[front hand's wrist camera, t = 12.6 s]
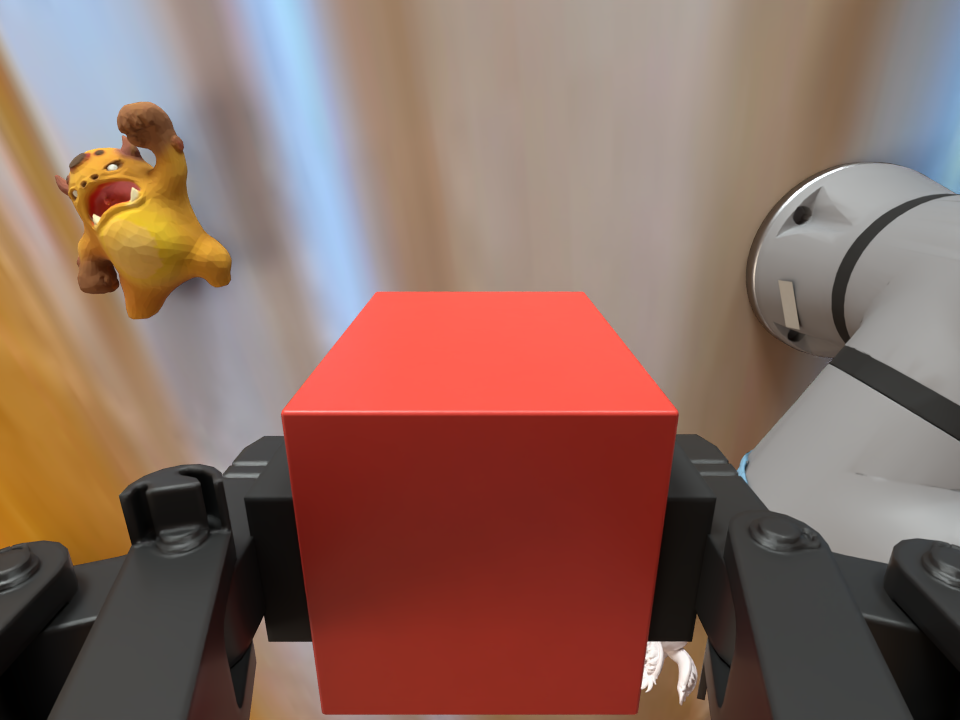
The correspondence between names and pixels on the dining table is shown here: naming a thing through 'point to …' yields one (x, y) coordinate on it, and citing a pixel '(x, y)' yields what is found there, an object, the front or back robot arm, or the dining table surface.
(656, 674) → the figurine
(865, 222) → the front robot arm
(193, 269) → the toy
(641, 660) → the brick
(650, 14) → the dining table surface
